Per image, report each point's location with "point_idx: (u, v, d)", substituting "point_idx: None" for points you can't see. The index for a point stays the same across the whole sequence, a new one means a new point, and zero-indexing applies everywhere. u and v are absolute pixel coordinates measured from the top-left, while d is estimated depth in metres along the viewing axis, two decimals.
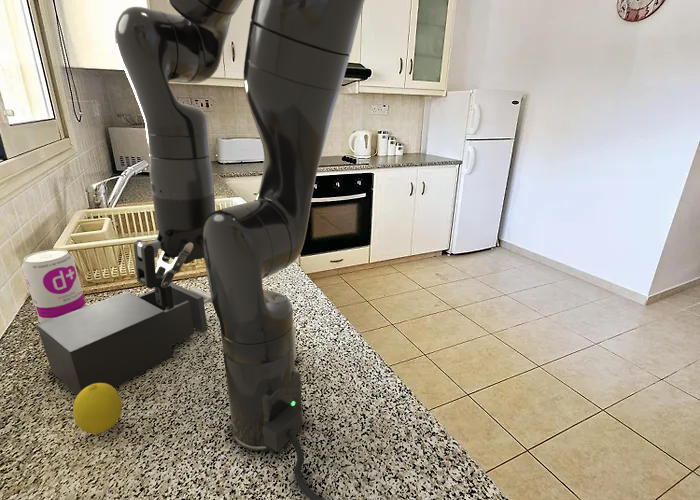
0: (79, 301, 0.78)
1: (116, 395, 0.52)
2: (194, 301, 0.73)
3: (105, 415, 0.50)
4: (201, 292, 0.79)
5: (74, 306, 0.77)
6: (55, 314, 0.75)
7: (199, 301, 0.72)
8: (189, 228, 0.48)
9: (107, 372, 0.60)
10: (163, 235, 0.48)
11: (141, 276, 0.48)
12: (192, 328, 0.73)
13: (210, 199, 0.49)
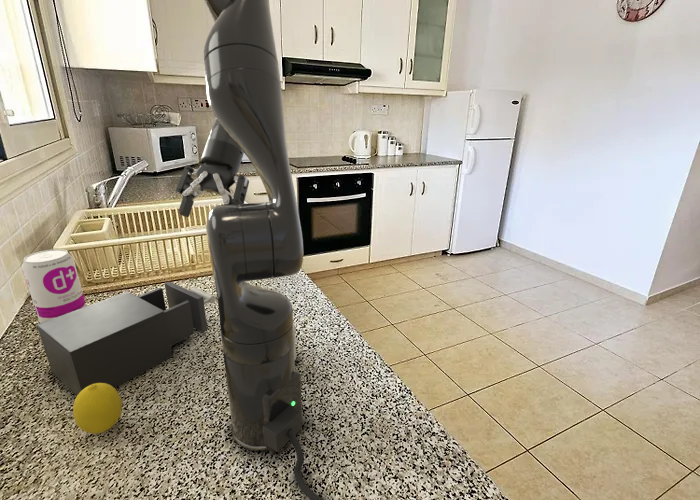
0: (79, 301, 0.78)
1: (116, 395, 0.52)
2: (194, 301, 0.73)
3: (105, 415, 0.50)
4: (201, 292, 0.79)
5: (74, 306, 0.77)
6: (55, 314, 0.75)
7: (199, 301, 0.72)
8: (203, 156, 0.74)
9: (107, 372, 0.60)
10: None
11: None
12: (192, 328, 0.73)
13: (222, 143, 0.74)
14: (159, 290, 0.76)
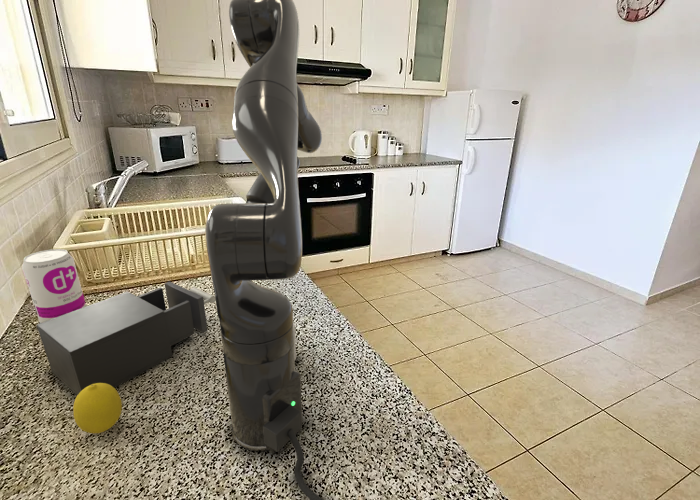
0: (79, 301, 0.78)
1: (116, 395, 0.52)
2: (194, 301, 0.73)
3: (105, 415, 0.50)
4: (201, 292, 0.79)
5: (74, 306, 0.77)
6: (54, 314, 0.75)
7: (199, 301, 0.72)
8: (247, 194, 0.86)
9: (107, 372, 0.60)
10: None
11: None
12: (192, 328, 0.73)
13: (263, 184, 0.85)
14: (159, 290, 0.76)
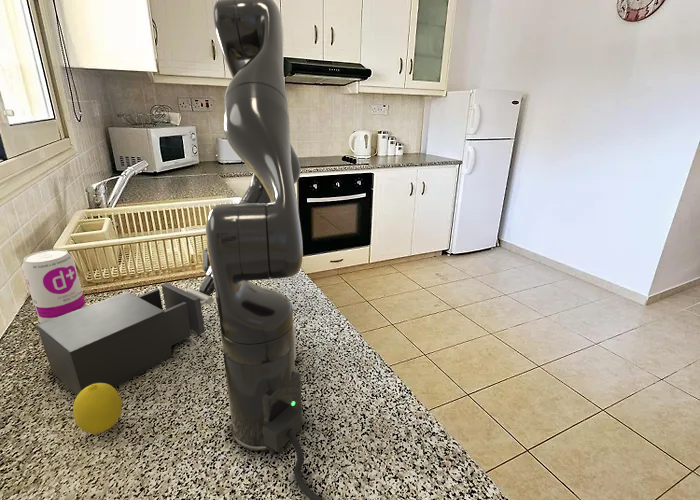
0: (79, 301, 0.78)
1: (116, 395, 0.52)
2: (191, 303, 0.72)
3: (105, 415, 0.50)
4: (198, 293, 0.78)
5: (74, 306, 0.77)
6: (55, 314, 0.75)
7: (196, 302, 0.72)
8: None
9: (107, 372, 0.60)
10: None
11: None
12: (189, 330, 0.73)
13: None
14: (156, 291, 0.75)
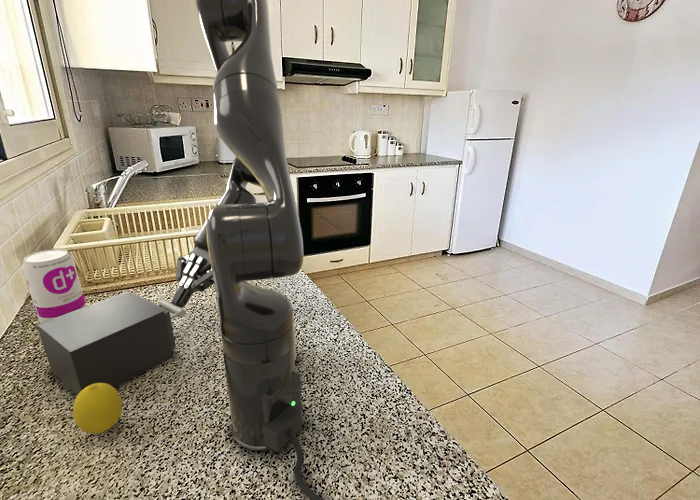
0: (79, 301, 0.78)
1: (116, 395, 0.52)
2: None
3: (105, 415, 0.50)
4: (170, 305, 0.73)
5: (74, 306, 0.77)
6: (55, 314, 0.75)
7: (165, 316, 0.67)
8: (194, 240, 0.77)
9: (107, 372, 0.60)
10: None
11: None
12: None
13: None
14: None
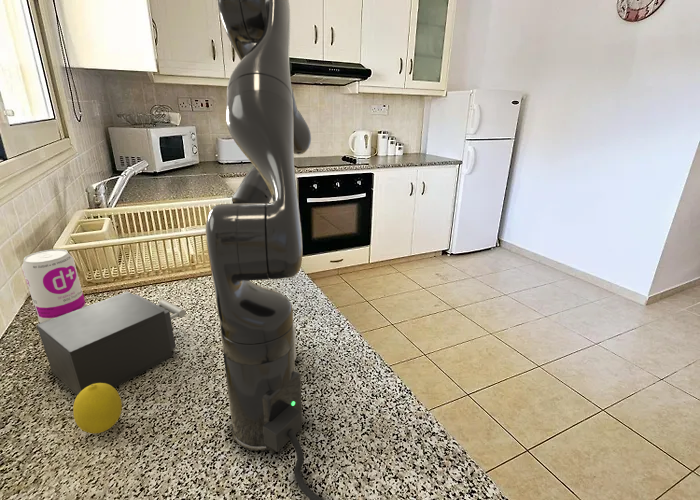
0: (79, 301, 0.78)
1: (116, 395, 0.52)
2: None
3: (105, 415, 0.50)
4: (170, 305, 0.73)
5: (74, 306, 0.77)
6: (55, 314, 0.75)
7: (165, 316, 0.67)
8: (232, 197, 0.83)
9: (107, 372, 0.60)
10: None
11: None
12: None
13: (249, 186, 0.82)
14: None
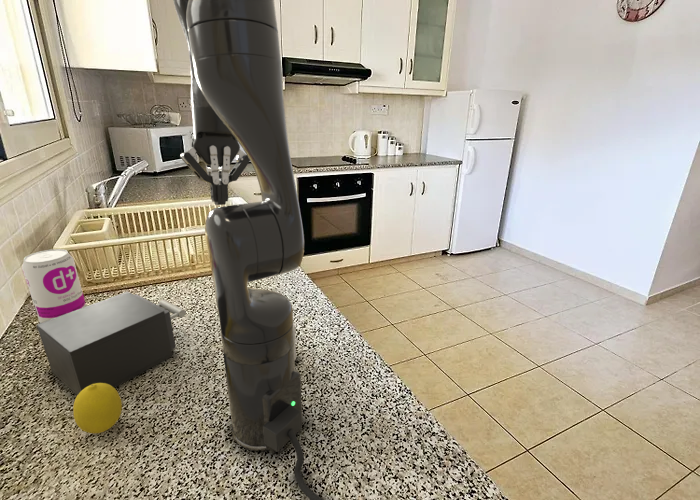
0: (79, 301, 0.78)
1: (116, 395, 0.52)
2: None
3: (105, 415, 0.50)
4: (170, 305, 0.73)
5: (74, 306, 0.77)
6: (55, 314, 0.75)
7: (165, 316, 0.67)
8: (211, 129, 0.65)
9: (107, 372, 0.60)
10: (195, 137, 0.66)
11: (199, 176, 0.68)
12: None
13: None
14: None
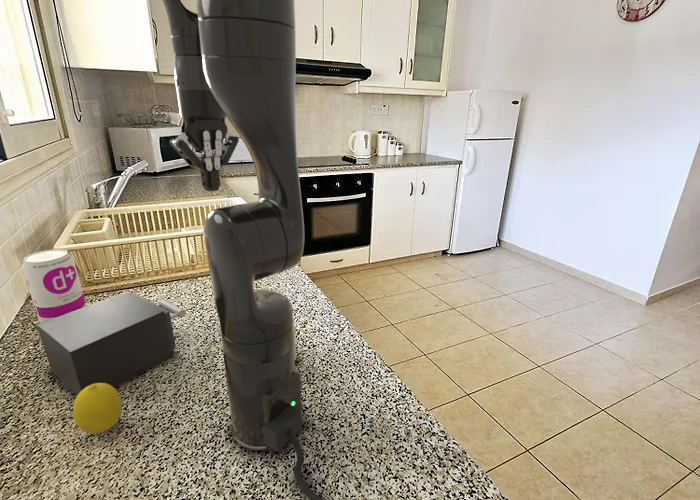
0: (79, 301, 0.78)
1: (116, 395, 0.52)
2: None
3: (105, 415, 0.50)
4: (170, 305, 0.73)
5: (74, 306, 0.77)
6: (54, 314, 0.75)
7: (165, 316, 0.67)
8: (206, 115, 0.61)
9: (107, 372, 0.60)
10: (186, 122, 0.61)
11: (190, 162, 0.65)
12: None
13: None
14: None
